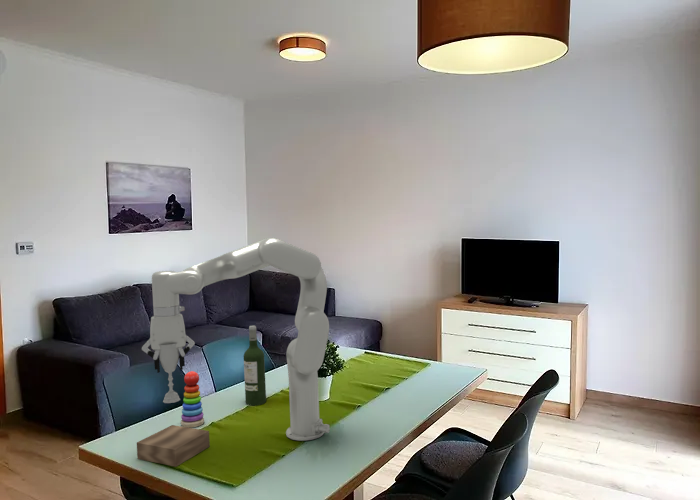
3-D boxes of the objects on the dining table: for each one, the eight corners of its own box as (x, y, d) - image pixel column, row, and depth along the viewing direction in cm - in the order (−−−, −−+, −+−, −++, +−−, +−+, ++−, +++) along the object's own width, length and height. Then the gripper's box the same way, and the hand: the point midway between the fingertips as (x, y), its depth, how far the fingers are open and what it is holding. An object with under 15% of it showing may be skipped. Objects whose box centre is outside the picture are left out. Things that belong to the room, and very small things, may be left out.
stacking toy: (183, 430, 187) (180, 376, 186) (179, 422, 194) (176, 370, 193) (206, 425, 190) (204, 372, 189) (201, 418, 197) (199, 367, 196)
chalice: (175, 404, 163) (172, 345, 162) (155, 404, 165) (151, 344, 164) (187, 396, 170) (184, 339, 170) (167, 396, 172) (164, 339, 171)
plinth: (209, 446, 172) (208, 431, 172) (175, 466, 159) (175, 449, 158) (173, 440, 178) (172, 425, 178) (137, 458, 165) (136, 442, 165)
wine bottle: (241, 404, 211) (238, 327, 209) (252, 398, 218) (249, 323, 217) (259, 406, 208) (255, 328, 206) (270, 400, 215) (266, 324, 214)
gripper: (195, 307, 173) (198, 363, 174) (136, 312, 167) (140, 370, 168) (197, 310, 166) (200, 369, 167) (136, 316, 160) (139, 377, 161)
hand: (169, 369), depth 167 cm, fingers closed on chalice, 6 cm apart
